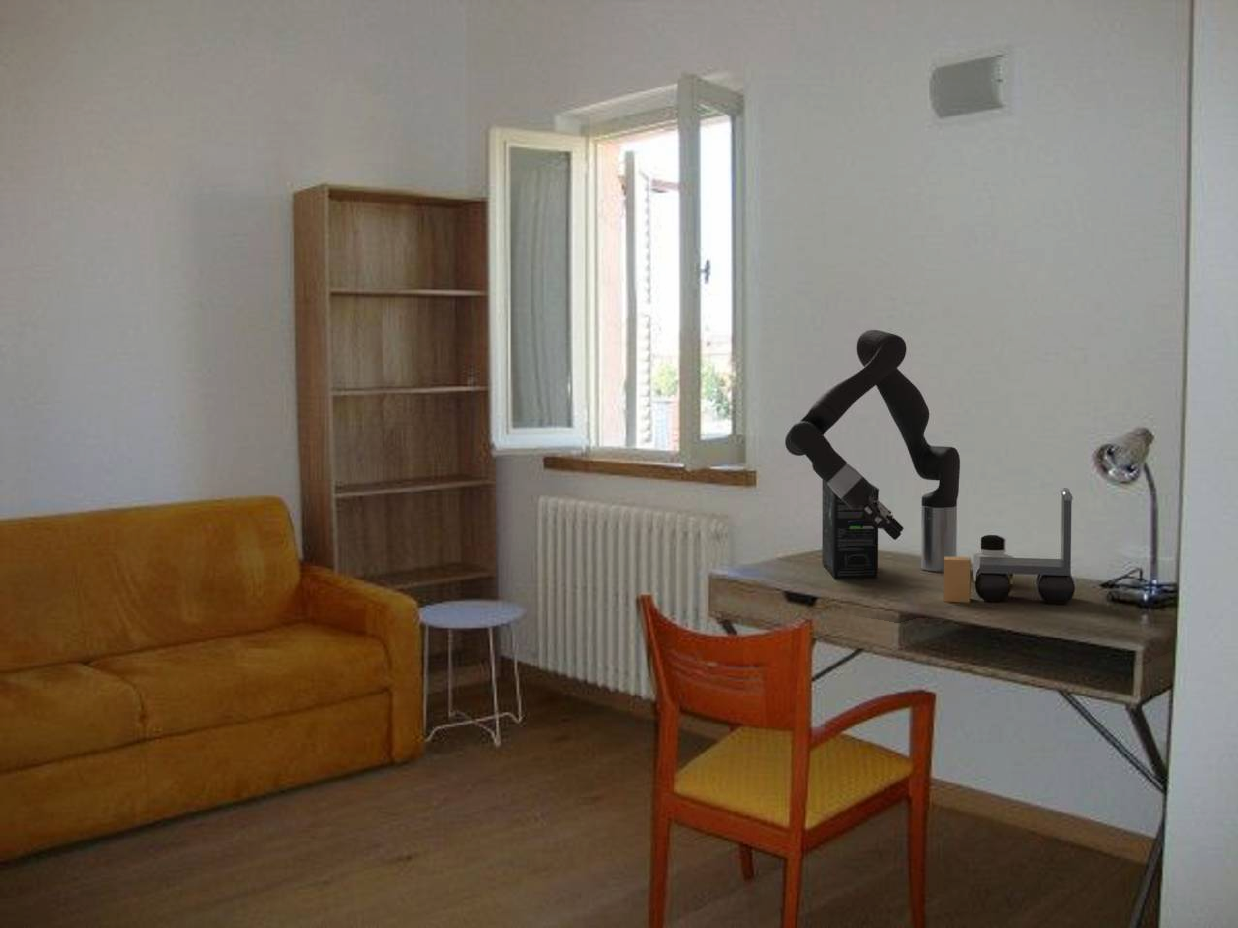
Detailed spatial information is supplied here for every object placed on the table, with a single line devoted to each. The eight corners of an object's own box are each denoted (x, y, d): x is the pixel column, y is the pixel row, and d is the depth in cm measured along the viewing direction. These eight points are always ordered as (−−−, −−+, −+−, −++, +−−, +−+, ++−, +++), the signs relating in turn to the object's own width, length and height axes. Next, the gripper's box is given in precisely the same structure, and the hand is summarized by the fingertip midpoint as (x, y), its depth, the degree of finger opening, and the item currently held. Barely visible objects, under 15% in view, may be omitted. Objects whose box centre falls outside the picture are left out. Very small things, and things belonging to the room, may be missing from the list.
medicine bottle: (988, 586, 307) (988, 538, 306) (972, 581, 314) (973, 534, 313) (1013, 584, 309) (1013, 536, 308) (997, 579, 316) (997, 533, 315)
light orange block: (944, 597, 294) (944, 556, 293) (970, 598, 292) (970, 557, 291) (943, 601, 290) (943, 559, 289) (969, 602, 288) (970, 560, 287)
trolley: (975, 592, 299) (976, 486, 297) (1071, 596, 293) (1073, 487, 290) (974, 602, 288) (975, 492, 285) (1074, 606, 281) (1076, 493, 279)
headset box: (879, 578, 320) (879, 480, 317) (833, 579, 320) (833, 481, 318) (864, 564, 342) (864, 471, 340) (821, 564, 342) (820, 472, 340)
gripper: (858, 479, 288) (909, 528, 286) (864, 472, 302) (912, 519, 299) (836, 501, 290) (886, 550, 288) (843, 493, 304) (890, 540, 302)
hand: (899, 534), depth 294 cm, fingers open, 8 cm apart
